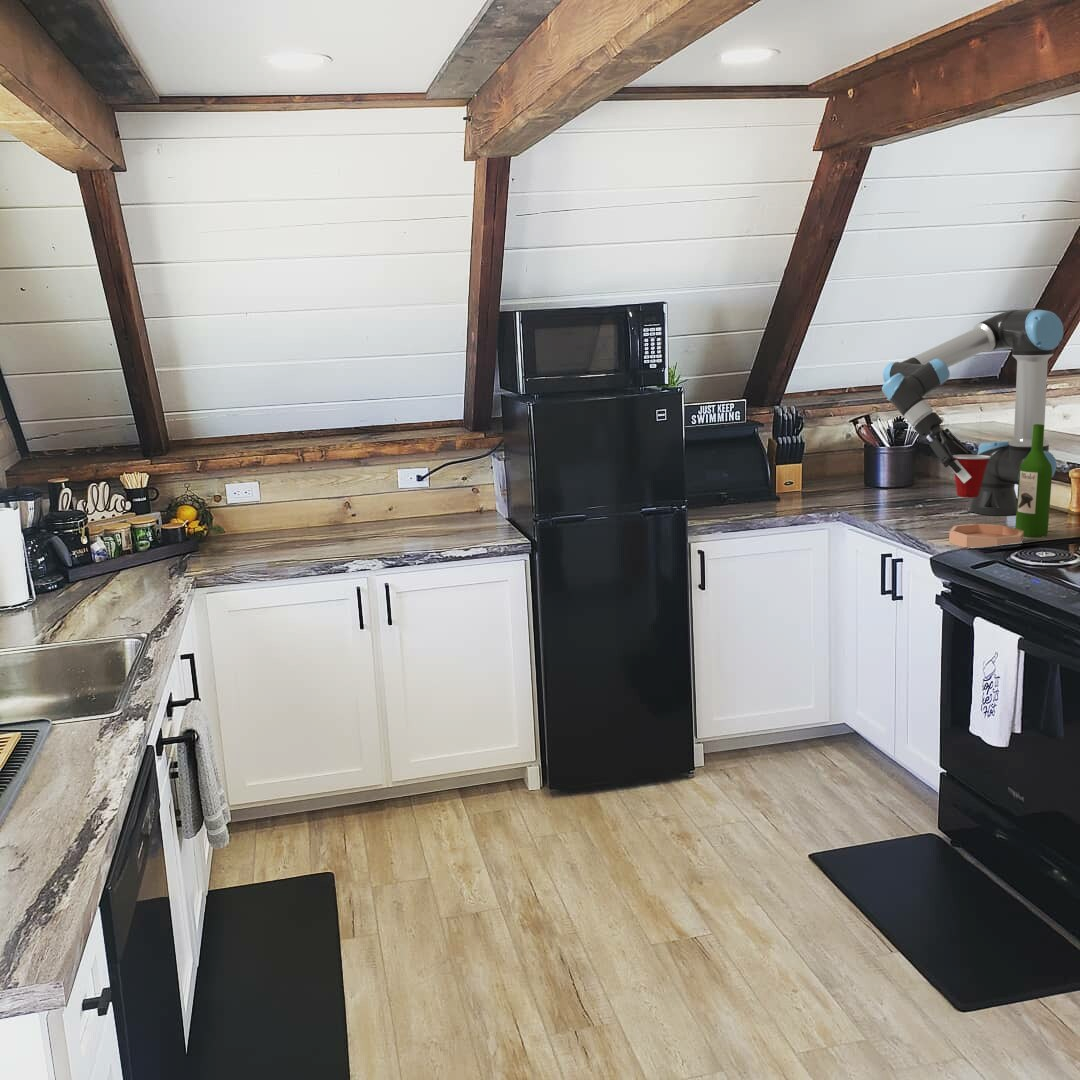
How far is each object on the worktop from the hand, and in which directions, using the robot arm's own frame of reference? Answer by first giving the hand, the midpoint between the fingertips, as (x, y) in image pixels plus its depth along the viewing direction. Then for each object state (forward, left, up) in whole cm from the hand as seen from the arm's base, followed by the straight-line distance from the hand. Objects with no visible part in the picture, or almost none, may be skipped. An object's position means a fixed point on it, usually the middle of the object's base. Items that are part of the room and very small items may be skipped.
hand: (974, 477), depth 322 cm
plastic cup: (+1, -1, -6) cm, 6 cm away
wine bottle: (-21, 0, -19) cm, 28 cm away
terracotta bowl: (-2, +4, -19) cm, 19 cm away
